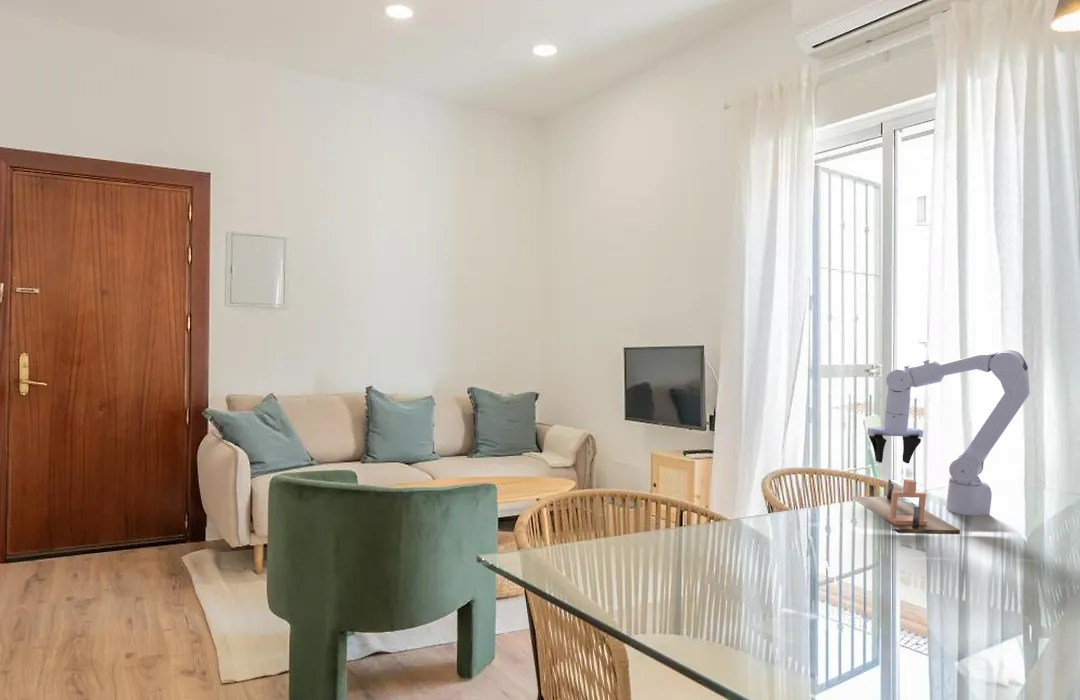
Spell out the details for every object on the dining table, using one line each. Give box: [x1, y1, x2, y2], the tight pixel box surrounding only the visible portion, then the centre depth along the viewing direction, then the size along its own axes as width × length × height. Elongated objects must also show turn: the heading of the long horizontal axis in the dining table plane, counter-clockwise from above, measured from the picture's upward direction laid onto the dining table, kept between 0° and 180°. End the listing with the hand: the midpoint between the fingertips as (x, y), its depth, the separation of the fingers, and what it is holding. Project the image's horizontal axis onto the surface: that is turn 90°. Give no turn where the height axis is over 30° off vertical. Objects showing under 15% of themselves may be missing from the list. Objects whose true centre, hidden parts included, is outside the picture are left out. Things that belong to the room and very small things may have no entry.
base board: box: [850, 496, 961, 535], centre depth 190 cm, size 15×25×1 cm, turn 4°
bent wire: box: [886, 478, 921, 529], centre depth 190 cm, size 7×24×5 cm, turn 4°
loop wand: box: [886, 478, 927, 526], centre depth 182 cm, size 8×4×10 cm, turn 93°
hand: (892, 462), depth 204 cm, fingers open, 7 cm apart
